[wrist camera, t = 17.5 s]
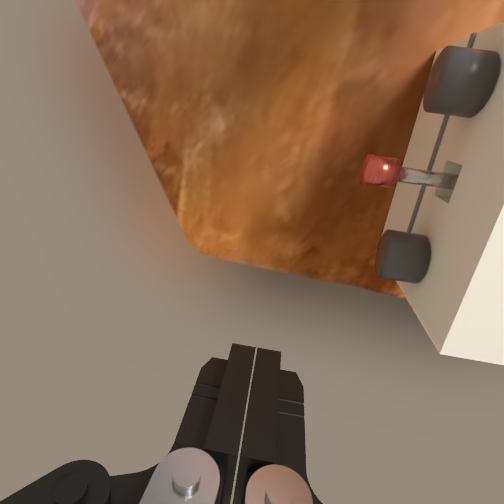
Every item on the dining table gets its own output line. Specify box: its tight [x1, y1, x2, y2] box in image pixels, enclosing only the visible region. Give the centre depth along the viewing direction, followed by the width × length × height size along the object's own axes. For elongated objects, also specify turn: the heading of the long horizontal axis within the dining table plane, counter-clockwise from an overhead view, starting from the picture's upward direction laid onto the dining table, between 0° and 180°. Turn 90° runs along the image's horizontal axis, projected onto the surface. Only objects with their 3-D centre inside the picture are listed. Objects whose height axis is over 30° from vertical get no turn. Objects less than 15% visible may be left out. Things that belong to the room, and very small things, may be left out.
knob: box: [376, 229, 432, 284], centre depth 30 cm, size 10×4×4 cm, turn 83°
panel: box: [381, 22, 504, 365], centre depth 29 cm, size 22×7×20 cm, turn 173°
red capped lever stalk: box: [360, 154, 459, 190], centre depth 28 cm, size 9×2×2 cm, turn 83°
